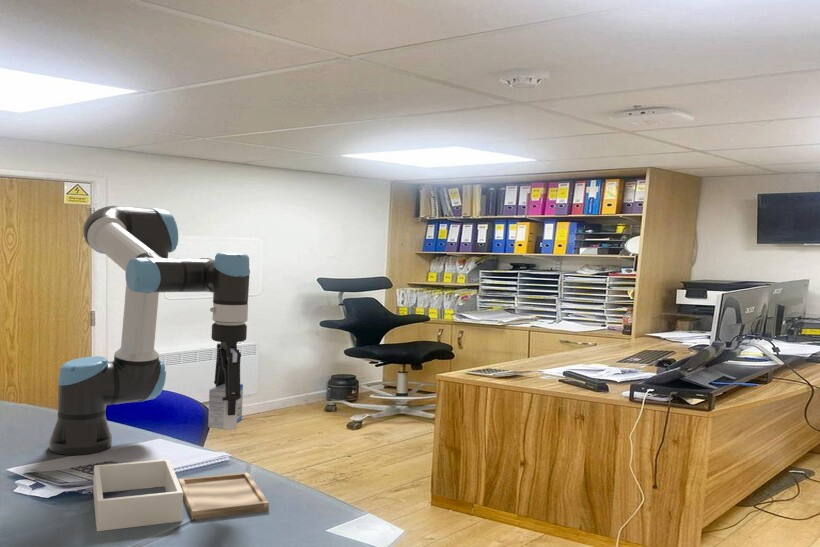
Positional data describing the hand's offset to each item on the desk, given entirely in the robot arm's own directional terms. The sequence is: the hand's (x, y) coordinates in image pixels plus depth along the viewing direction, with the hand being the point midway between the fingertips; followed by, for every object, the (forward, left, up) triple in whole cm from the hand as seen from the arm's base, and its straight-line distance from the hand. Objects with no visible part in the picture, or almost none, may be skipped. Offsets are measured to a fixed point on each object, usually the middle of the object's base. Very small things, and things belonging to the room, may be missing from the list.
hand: (225, 423), depth 157 cm
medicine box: (0, 0, 0) cm, 0 cm away
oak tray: (0, 0, -17) cm, 17 cm away
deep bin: (-1, -18, -17) cm, 25 cm away
